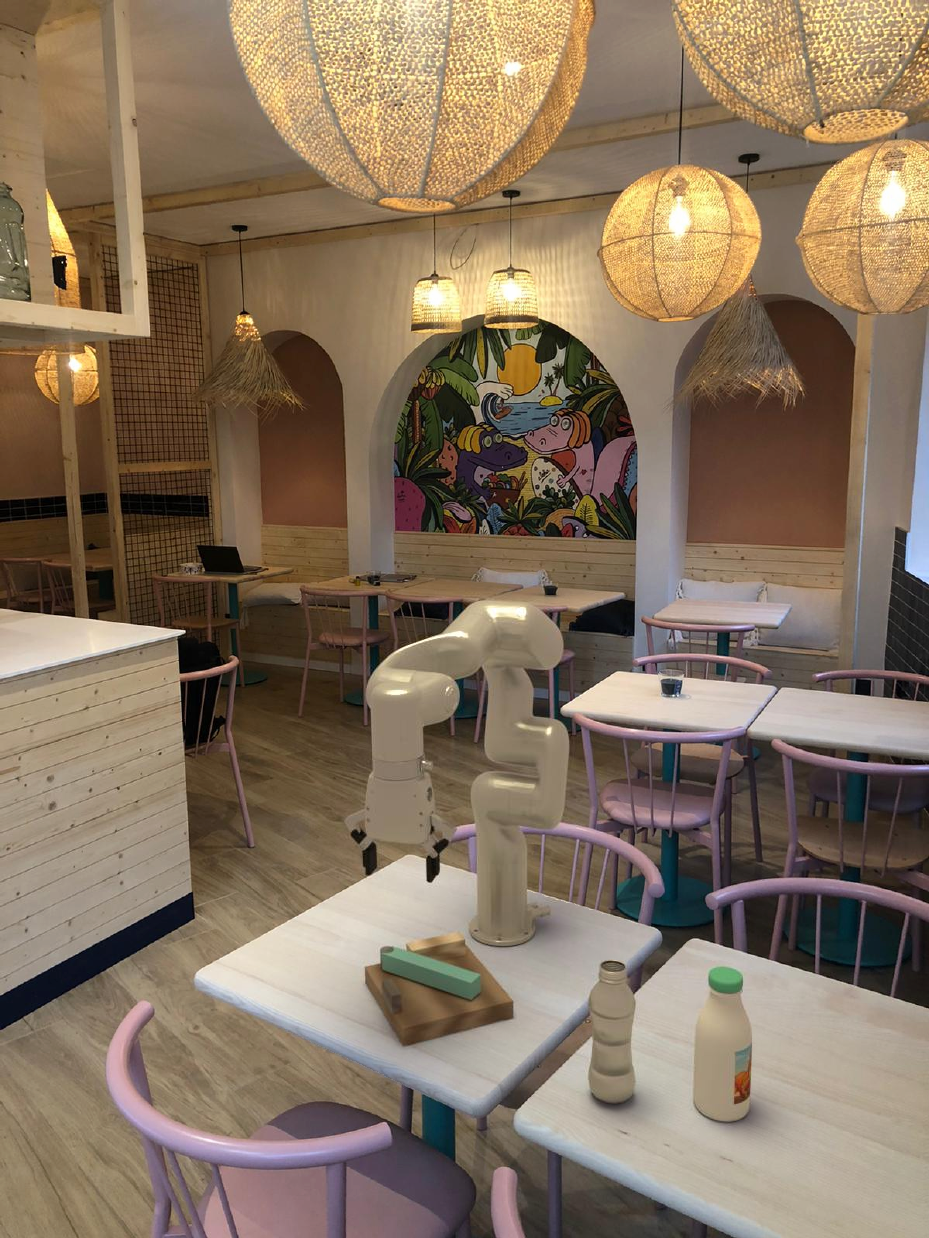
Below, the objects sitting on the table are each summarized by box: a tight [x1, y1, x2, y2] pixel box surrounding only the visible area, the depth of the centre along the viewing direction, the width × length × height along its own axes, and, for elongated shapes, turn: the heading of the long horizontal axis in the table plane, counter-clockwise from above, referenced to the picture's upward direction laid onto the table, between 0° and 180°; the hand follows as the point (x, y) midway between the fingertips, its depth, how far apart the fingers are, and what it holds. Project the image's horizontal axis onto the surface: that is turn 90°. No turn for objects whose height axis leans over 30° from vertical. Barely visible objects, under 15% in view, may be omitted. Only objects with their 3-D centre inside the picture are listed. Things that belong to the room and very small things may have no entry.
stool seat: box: [364, 931, 514, 1047], centre depth 164 cm, size 19×20×6 cm
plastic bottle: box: [587, 959, 637, 1105], centre depth 138 cm, size 6×7×20 cm
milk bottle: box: [692, 966, 753, 1123], centre depth 136 cm, size 8×8×20 cm
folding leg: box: [379, 945, 481, 1000], centre depth 164 cm, size 19×3×3 cm, turn 58°
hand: (401, 875), depth 147 cm, fingers open, 9 cm apart
